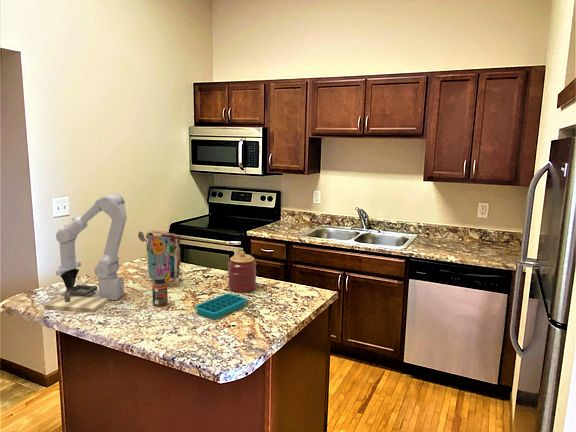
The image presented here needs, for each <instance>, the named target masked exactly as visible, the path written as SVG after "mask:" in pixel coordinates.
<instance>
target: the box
mask: <svg viewBox="0 0 576 432" xmlns="http://www.w3.org/2000/svg"><path fill="white" fill-rule="evenodd" d="M137 236H138V239H139V240H140V242H142V243H143V242H146V256H147V261H146V262H147V269H148V277H147V279H148V282H150V283H151V281H153V282H155V278H156V277H165V282H166V283H170V281H171V282H172V284H173V285H172V286H175V285H177V282H178V283H180V282H183V278H182V277H184V276H183V274H184V272H183V265H182V263H183V257H182V255H183V254H181V253H183V252H182V239H181V235H180V234H178V235H177V236H176V233H173V232H168V231H165V232H164V231H162V230H161V231H158V230H152V231H148V232H146V235H144V232H142V231H139V232H138V233H137ZM145 237H146V238H145ZM170 253H171V254H172V255H171V254H170ZM180 266H181V267H180ZM180 271H181V272H180ZM179 276H181V277H179ZM150 279H151V280H150ZM171 279H172V280H171ZM175 282H176V283H175ZM180 286H181V284H178V287H180ZM168 287H170V286H168V285H167V288H168Z"/></svg>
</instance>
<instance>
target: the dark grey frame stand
mask: <svg viewBox="0 0 576 432" xmlns="http://www.w3.org/2000/svg"><path fill="white" fill-rule="evenodd" d="M79 290H81V291H79ZM82 290H84V291H82ZM97 290H98V286H96V285H84V284H77V285H74V278H72V287H71V288H66V287H65V292H64V293H66V292H70V296H75V297H88V296H90V295H91V294H92V293H95V292H96V291H97Z"/></svg>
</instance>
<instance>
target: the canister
mask: <svg viewBox="0 0 576 432" xmlns="http://www.w3.org/2000/svg"><path fill="white" fill-rule="evenodd" d="M227 266H228V270H227V271H228V272H227V275H228V278H227V280H228V281H227V287H228V290H229V291H231V292H235V293H249V292H253V291H254V290H256V287H257V269H256V266H257V262H256V261H255V257H254V256H252V255H251V254H246V252H245V251H243V250H242V251H239V253H238V254H234V255H232V256H231V257H230V258H229V262H228V264H227Z"/></svg>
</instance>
